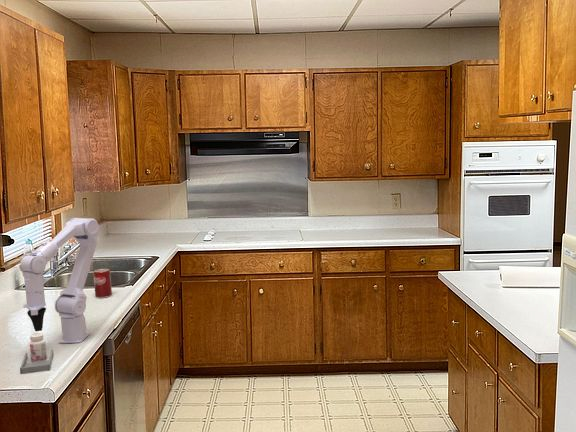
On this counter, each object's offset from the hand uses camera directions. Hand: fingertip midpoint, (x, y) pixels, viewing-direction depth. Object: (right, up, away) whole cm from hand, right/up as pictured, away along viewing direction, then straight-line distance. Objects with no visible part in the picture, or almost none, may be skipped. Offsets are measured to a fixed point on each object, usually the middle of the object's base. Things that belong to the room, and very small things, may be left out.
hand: (38, 330), depth 221 cm
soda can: (+1, +2, +74) cm, 74 cm away
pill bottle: (+2, -9, -6) cm, 11 cm away
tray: (+3, -9, -10) cm, 14 cm away
